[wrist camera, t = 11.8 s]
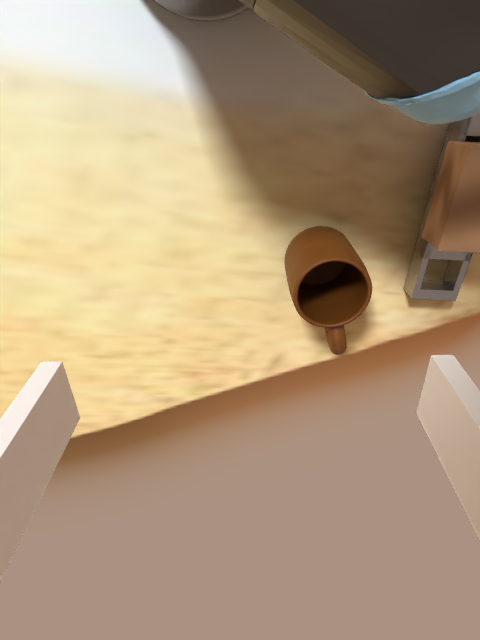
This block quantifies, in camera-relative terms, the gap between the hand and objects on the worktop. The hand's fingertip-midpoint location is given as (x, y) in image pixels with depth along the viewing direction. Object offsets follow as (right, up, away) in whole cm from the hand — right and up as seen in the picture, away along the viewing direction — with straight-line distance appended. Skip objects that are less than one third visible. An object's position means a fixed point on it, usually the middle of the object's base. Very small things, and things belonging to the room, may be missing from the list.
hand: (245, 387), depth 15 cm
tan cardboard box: (+22, +16, +27) cm, 38 cm away
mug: (+9, +8, +32) cm, 34 cm away
